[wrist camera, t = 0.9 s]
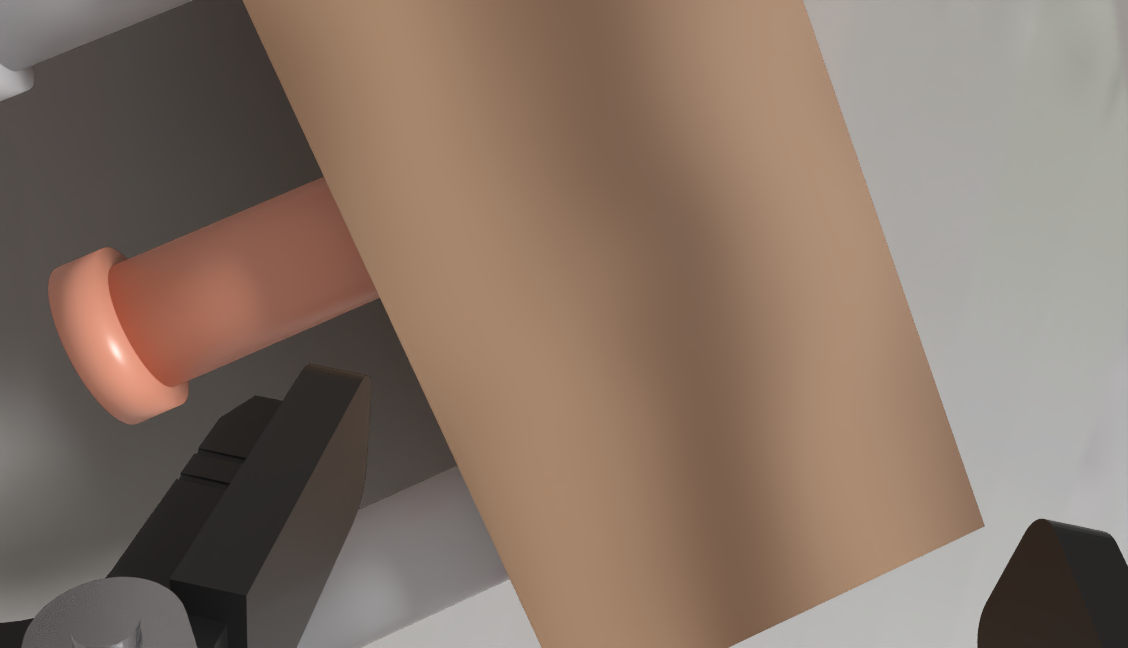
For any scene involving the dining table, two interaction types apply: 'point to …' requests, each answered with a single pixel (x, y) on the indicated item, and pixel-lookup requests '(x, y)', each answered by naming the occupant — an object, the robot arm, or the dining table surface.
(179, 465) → the dining table surface
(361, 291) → the terracotta plug
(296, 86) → the tan block
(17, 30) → the grey plug
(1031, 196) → the dining table surface
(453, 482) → the grey plug
